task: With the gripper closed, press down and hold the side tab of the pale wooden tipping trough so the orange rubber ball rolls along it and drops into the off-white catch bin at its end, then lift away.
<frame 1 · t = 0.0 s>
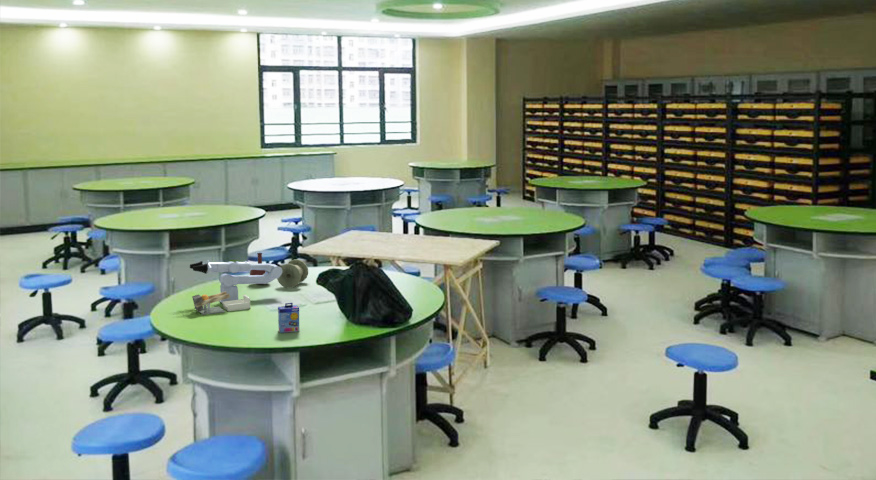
hand: (191, 267, 420), 22 cm above the table, tool horizontal, fingers open, 7 cm apart
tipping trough: (210, 298, 412), point 7 cm above the table, hinge at -10.0°, touching ball
ink cartridge box: (289, 331, 372), on the table
lever stand: (207, 311, 409), on the table
spool: (293, 285, 478), on the table
ball: (204, 298, 408), point 8 cm above the table, tilted 14°, touching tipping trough
catch bin: (236, 308, 418), on the table
round-bottom flask: (260, 284, 479), on the table
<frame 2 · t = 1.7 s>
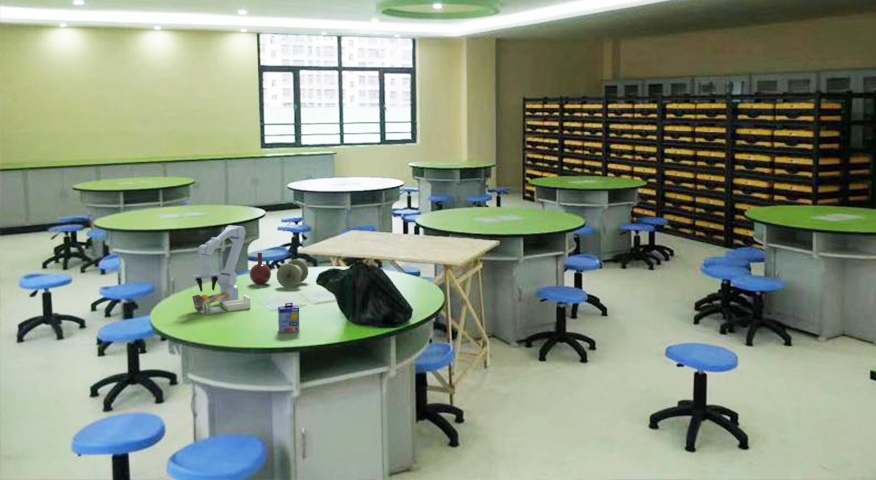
hand: (207, 290, 418), 9 cm above the table, tool pointing down, fingers open, 6 cm apart
nothing on the table moved.
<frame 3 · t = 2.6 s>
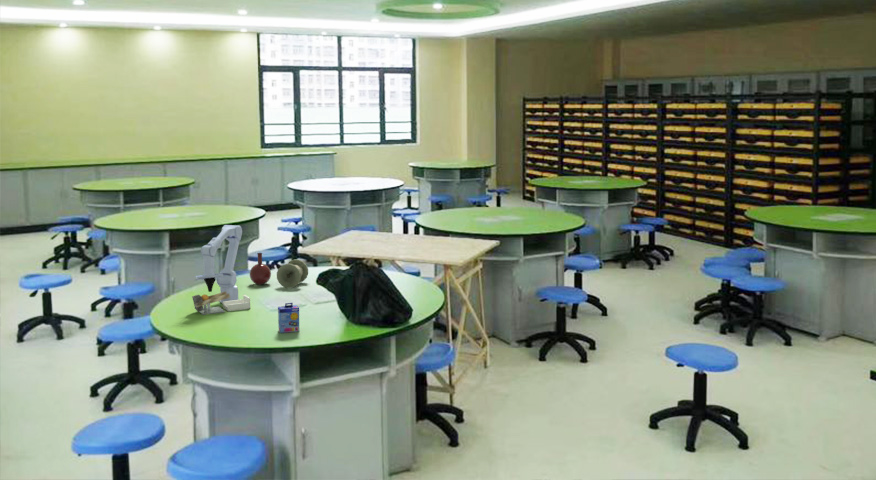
hand: (210, 291, 416), 9 cm above the table, tool pointing down, fingers closed
nothing on the table moved.
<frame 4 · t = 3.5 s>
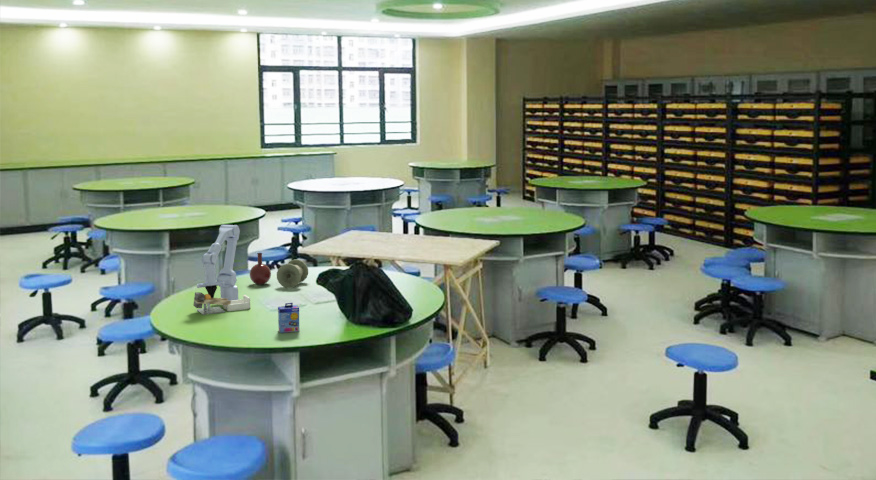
hand: (211, 299, 416), 5 cm above the table, tool pointing down, fingers closed, pressing on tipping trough
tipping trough: (211, 300, 412), point 6 cm above the table, hinge at 10.0°, touching ball, gripper
ball: (206, 297, 408), point 8 cm above the table, tilted 13°, touching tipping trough
everything else where it was.
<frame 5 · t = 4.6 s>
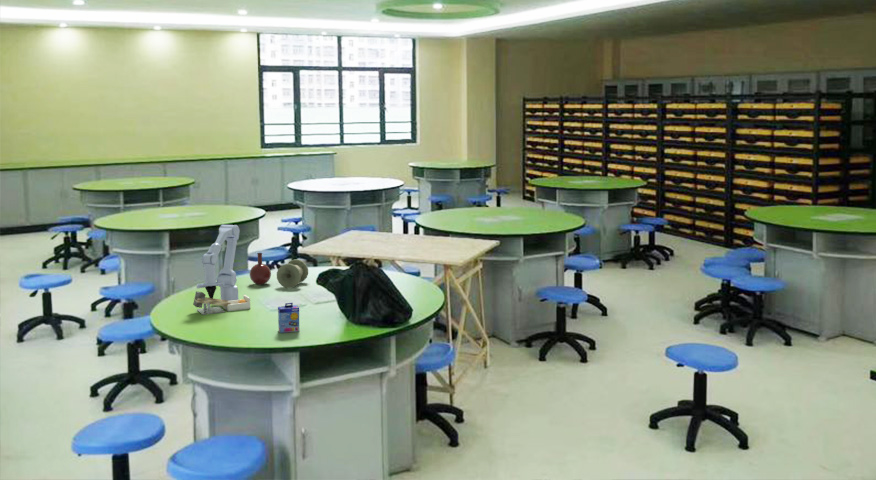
hand: (211, 299, 416), 5 cm above the table, tool pointing down, fingers closed, pressing on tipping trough
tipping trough: (211, 300, 412), point 5 cm above the table, hinge at 14.9°, touching catch bin, gripper
ball: (242, 303, 419), point 2 cm above the table, tilted 126°, touching catch bin
everything else where it was.
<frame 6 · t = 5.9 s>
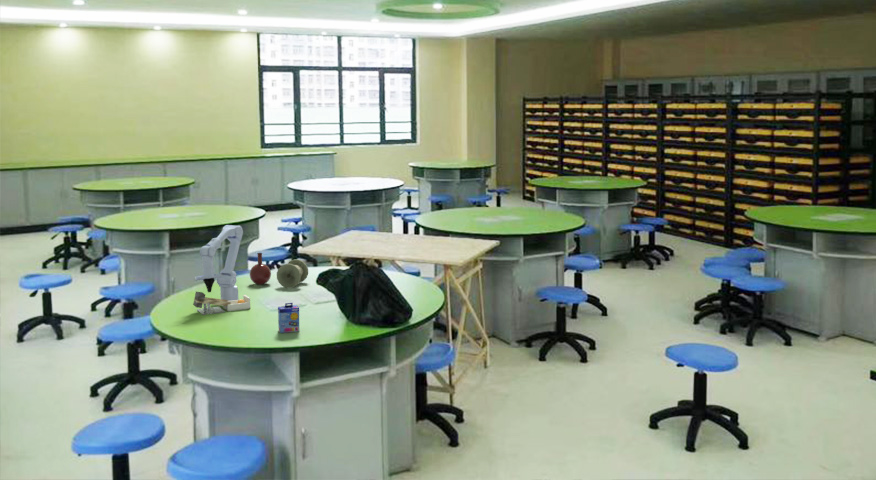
hand: (209, 292, 417), 9 cm above the table, tool pointing down, fingers closed
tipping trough: (211, 300, 412), point 5 cm above the table, hinge at 13.7°
ball: (241, 303, 419), point 2 cm above the table, tilted 141°, touching catch bin
everything else where it was.
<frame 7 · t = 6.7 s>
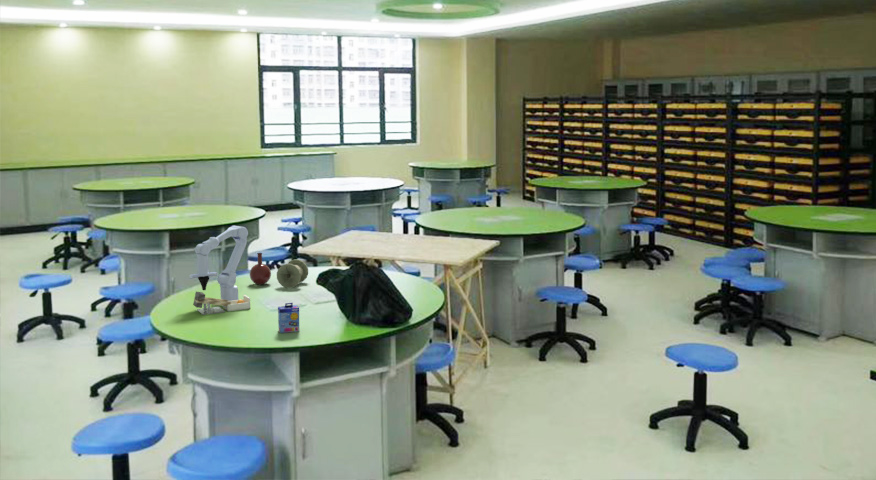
hand: (204, 289, 420), 9 cm above the table, tool pointing down, fingers closed
ball: (240, 303, 418), point 2 cm above the table, tilted 151°, touching catch bin
everything else where it was.
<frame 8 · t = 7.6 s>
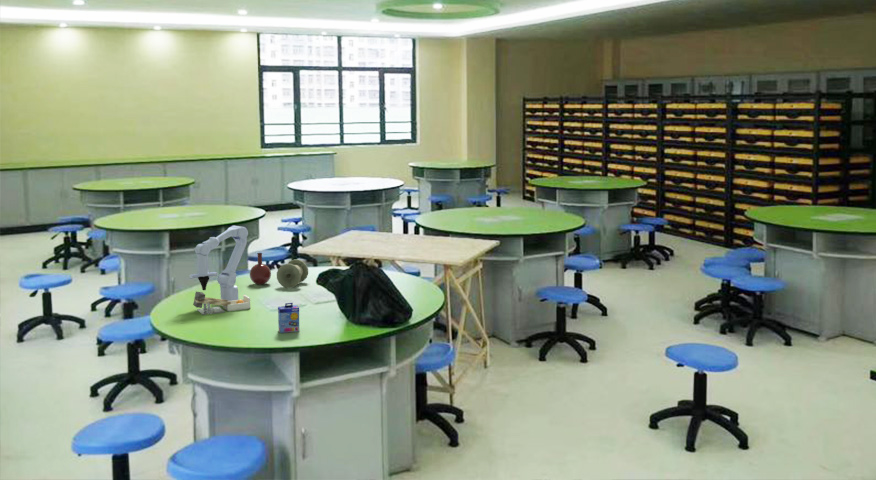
hand: (204, 289, 420), 9 cm above the table, tool pointing down, fingers closed
ball: (240, 303, 418), point 2 cm above the table, tilted 162°, touching catch bin
everything else where it was.
at the end: ball inside the target area (2.1 cm from its centre), point 2.5 cm above the table; the gripper is holding nothing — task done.
